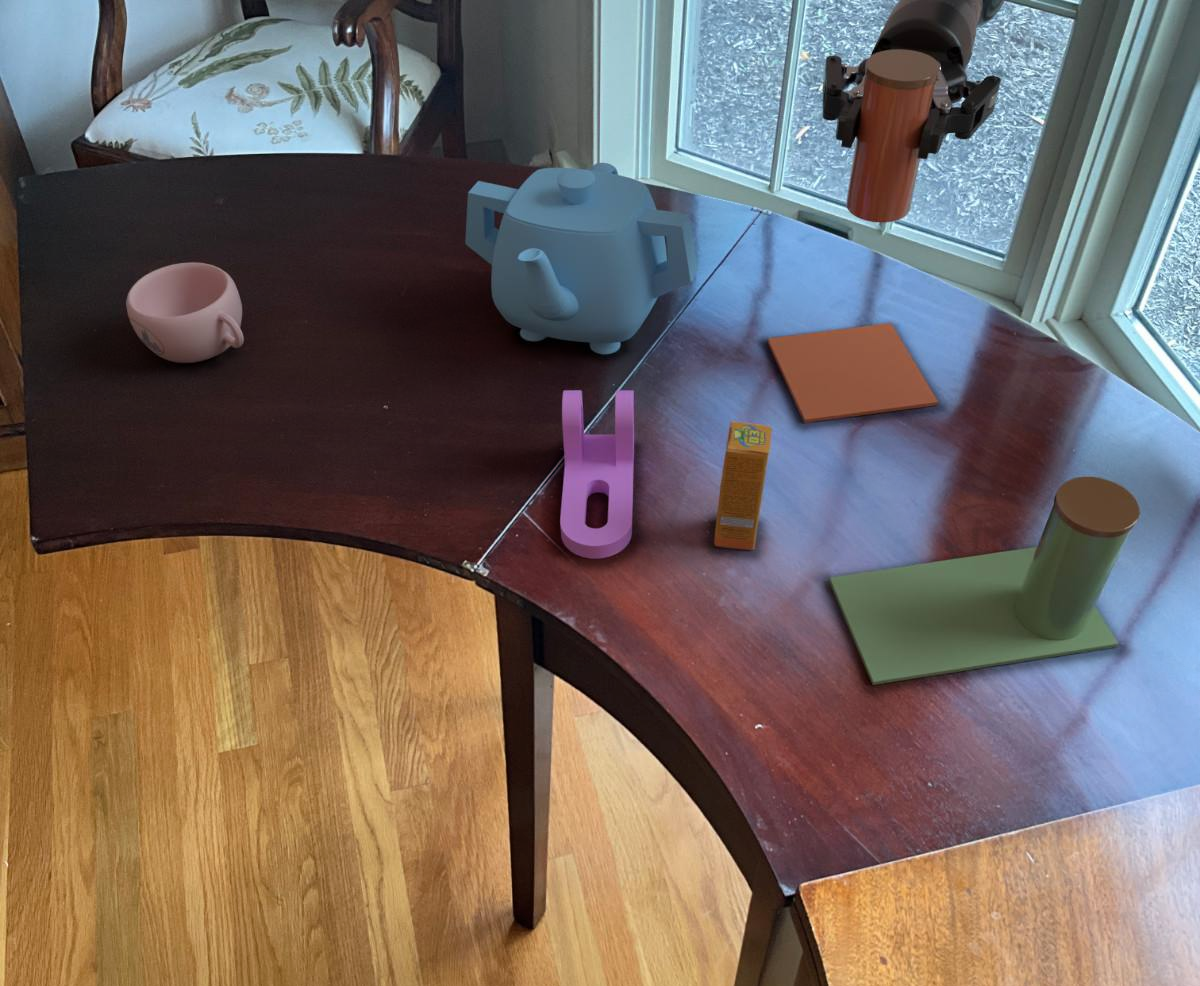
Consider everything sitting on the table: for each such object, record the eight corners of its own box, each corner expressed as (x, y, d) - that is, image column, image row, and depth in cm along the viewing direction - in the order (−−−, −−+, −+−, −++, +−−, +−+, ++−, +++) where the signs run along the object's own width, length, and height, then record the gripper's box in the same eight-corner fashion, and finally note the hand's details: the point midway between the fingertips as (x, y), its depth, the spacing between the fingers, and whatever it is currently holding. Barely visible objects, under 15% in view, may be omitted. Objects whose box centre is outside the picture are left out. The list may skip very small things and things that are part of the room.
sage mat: (1055, 547, 85) (1056, 543, 85) (1117, 647, 78) (1118, 643, 78) (828, 580, 83) (829, 577, 83) (872, 685, 77) (873, 681, 76)
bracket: (568, 447, 94) (564, 380, 89) (633, 447, 94) (633, 380, 89) (559, 558, 86) (553, 492, 80) (631, 558, 85) (630, 492, 80)
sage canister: (1068, 582, 82) (1116, 471, 74) (1101, 635, 79) (1155, 525, 70) (1001, 592, 82) (1042, 481, 73) (1031, 646, 78) (1077, 536, 70)
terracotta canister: (911, 191, 89) (939, 50, 81) (911, 225, 86) (940, 82, 77) (845, 187, 90) (866, 47, 82) (843, 221, 87) (865, 78, 78)
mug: (121, 354, 104) (99, 300, 100) (199, 302, 110) (181, 248, 105) (212, 395, 100) (192, 340, 96) (288, 339, 105) (273, 285, 101)
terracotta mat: (890, 326, 104) (891, 322, 104) (937, 405, 96) (938, 401, 96) (766, 341, 103) (767, 338, 103) (804, 423, 95) (804, 419, 95)
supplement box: (758, 552, 85) (769, 453, 78) (713, 547, 86) (720, 449, 78) (760, 522, 88) (772, 423, 80) (717, 518, 88) (724, 419, 80)
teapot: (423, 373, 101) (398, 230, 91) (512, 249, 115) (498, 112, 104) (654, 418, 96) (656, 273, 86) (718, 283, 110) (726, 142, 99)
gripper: (845, -13, 90) (795, 77, 80) (1026, 7, 87) (998, 103, 77) (833, 80, 96) (784, 175, 86) (1002, 103, 93) (973, 204, 82)
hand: (886, 140), depth 81 cm, fingers closed on terracotta canister, 5 cm apart
